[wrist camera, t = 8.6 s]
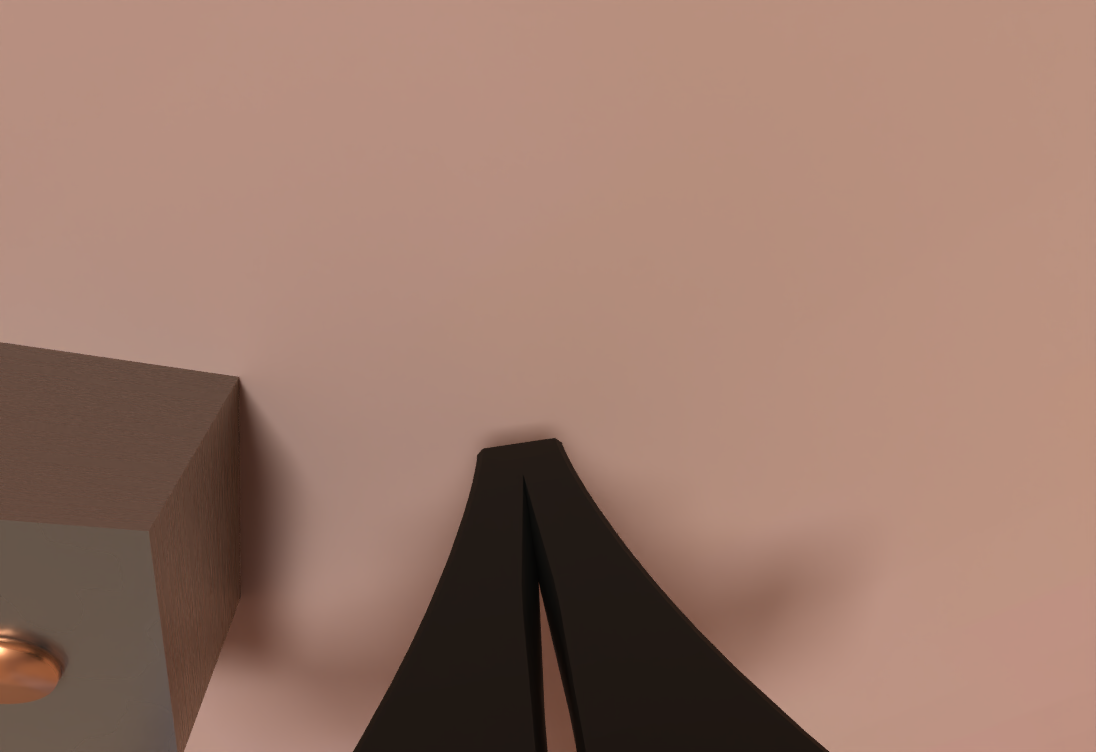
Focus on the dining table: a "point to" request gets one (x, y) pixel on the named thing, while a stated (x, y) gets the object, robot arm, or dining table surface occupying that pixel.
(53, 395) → the link block
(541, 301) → the dining table surface
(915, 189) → the dining table surface
